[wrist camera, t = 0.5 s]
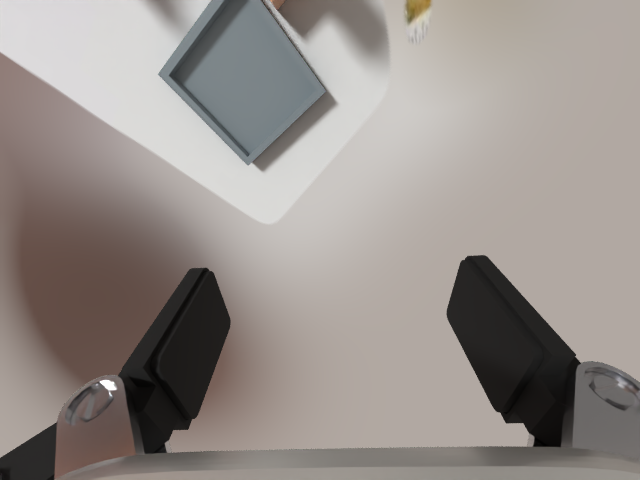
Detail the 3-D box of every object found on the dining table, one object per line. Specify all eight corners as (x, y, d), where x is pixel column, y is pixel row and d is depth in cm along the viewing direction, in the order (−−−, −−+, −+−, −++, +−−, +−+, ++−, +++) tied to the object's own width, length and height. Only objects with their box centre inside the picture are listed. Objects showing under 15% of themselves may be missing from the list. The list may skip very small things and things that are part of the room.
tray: (241, -28, 26) (236, -34, 24) (325, 90, 31) (326, 91, 30) (166, 74, 30) (158, 74, 29) (251, 161, 36) (248, 165, 34)
